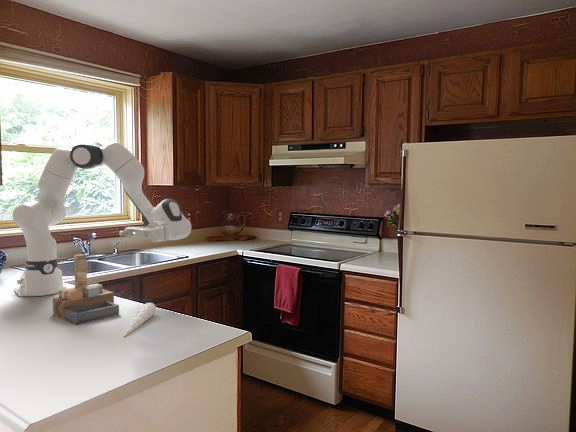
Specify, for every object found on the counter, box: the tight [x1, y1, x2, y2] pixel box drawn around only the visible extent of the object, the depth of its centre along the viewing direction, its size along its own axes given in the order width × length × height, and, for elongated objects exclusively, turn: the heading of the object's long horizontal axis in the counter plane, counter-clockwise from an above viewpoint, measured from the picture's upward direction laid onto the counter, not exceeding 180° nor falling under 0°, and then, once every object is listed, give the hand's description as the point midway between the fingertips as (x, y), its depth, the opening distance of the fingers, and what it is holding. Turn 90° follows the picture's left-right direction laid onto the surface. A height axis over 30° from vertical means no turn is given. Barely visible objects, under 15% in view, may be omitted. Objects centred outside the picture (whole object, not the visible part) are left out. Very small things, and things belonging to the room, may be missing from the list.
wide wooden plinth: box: [52, 288, 115, 320], centre depth 161 cm, size 9×18×6 cm, turn 140°
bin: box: [64, 301, 120, 326], centre depth 154 cm, size 9×15×4 cm, turn 140°
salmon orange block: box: [66, 288, 83, 301], centre depth 156 cm, size 4×4×3 cm
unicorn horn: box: [122, 302, 157, 338], centre depth 146 cm, size 5×24×5 cm, turn 175°
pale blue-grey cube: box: [83, 286, 99, 297], centre depth 160 cm, size 4×4×3 cm
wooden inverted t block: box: [58, 253, 103, 299], centre depth 162 cm, size 4×14×14 cm, turn 140°
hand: (126, 234), depth 175 cm, fingers open, 8 cm apart
